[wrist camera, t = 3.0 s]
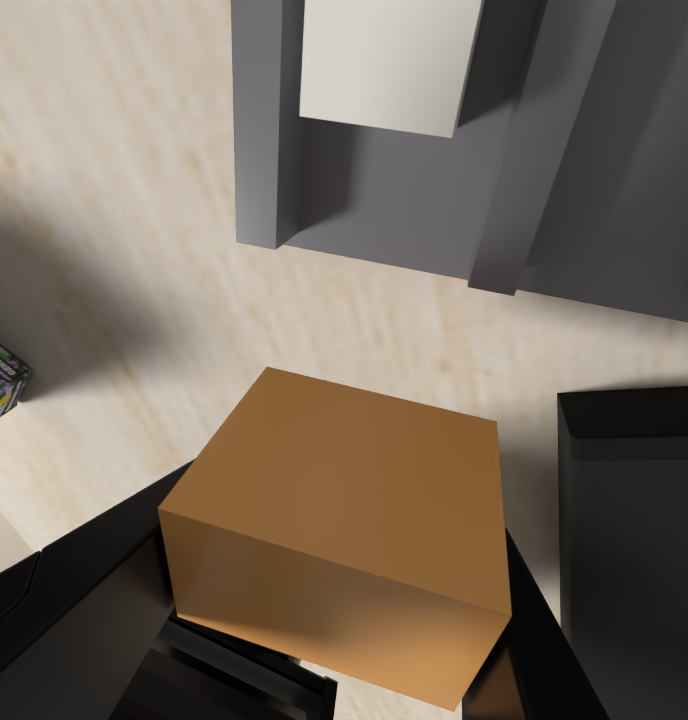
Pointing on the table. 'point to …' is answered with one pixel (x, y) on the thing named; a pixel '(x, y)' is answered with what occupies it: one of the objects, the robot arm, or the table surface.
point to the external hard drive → (626, 546)
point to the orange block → (347, 534)
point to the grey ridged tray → (489, 156)
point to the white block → (388, 62)
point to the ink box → (11, 381)
